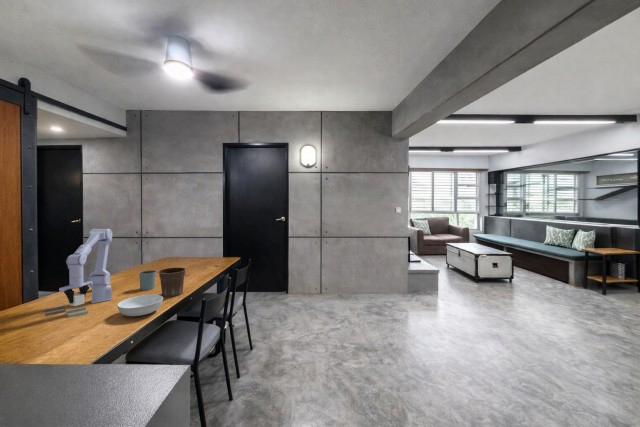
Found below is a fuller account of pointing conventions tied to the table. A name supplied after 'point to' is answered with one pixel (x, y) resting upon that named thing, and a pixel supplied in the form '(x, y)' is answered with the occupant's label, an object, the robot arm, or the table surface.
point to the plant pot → (172, 281)
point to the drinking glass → (147, 280)
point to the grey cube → (78, 299)
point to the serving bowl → (140, 305)
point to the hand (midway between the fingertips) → (76, 301)
